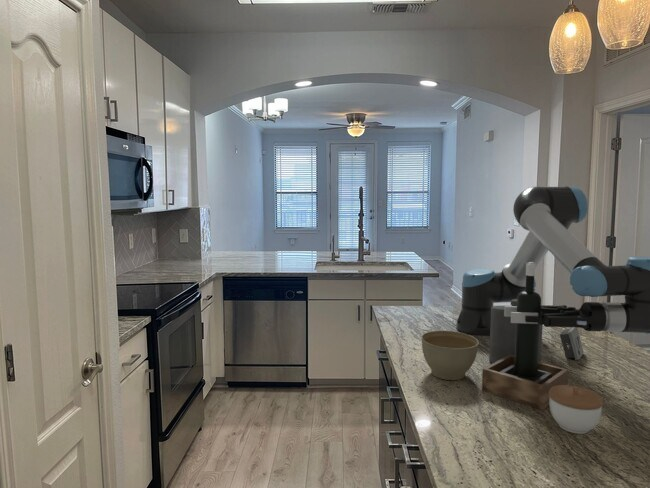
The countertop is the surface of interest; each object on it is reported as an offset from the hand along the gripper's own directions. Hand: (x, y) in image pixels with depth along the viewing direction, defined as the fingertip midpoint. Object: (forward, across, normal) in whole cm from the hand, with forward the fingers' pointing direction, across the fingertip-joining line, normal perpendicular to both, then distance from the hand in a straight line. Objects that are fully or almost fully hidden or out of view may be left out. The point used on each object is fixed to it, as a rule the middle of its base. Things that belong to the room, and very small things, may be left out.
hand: (508, 314), depth 121 cm
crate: (-5, 0, -21) cm, 22 cm away
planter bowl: (+14, +9, -21) cm, 27 cm away
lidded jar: (-10, -18, -21) cm, 30 cm away
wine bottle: (-5, 0, -16) cm, 17 cm away
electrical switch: (-29, +30, -21) cm, 47 cm away
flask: (-8, +21, -21) cm, 31 cm away
